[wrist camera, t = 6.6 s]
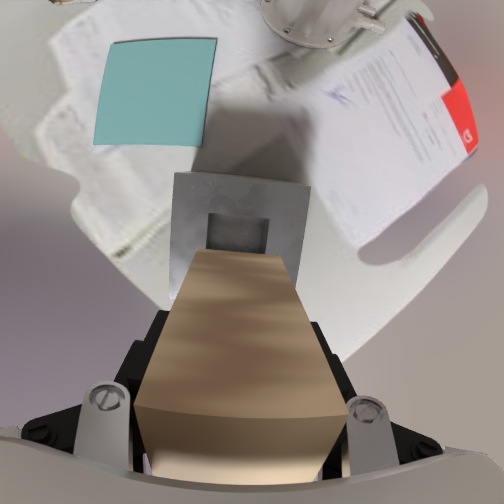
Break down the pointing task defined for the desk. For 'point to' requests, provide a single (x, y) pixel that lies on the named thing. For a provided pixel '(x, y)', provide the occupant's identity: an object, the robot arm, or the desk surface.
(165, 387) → the oak plug
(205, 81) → the teal mat
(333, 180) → the desk surface
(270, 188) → the grey block with hole
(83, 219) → the desk surface
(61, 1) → the coffee box
